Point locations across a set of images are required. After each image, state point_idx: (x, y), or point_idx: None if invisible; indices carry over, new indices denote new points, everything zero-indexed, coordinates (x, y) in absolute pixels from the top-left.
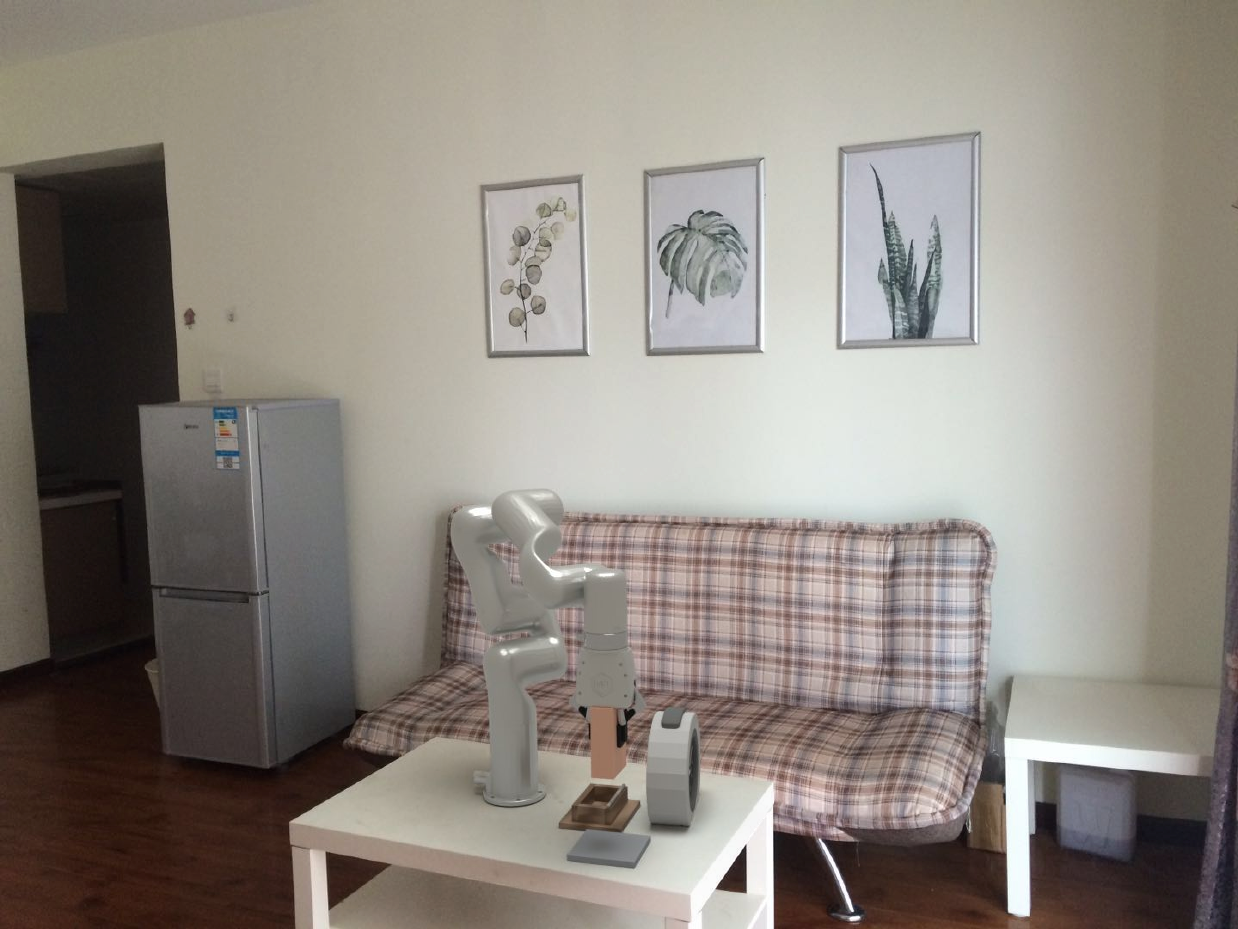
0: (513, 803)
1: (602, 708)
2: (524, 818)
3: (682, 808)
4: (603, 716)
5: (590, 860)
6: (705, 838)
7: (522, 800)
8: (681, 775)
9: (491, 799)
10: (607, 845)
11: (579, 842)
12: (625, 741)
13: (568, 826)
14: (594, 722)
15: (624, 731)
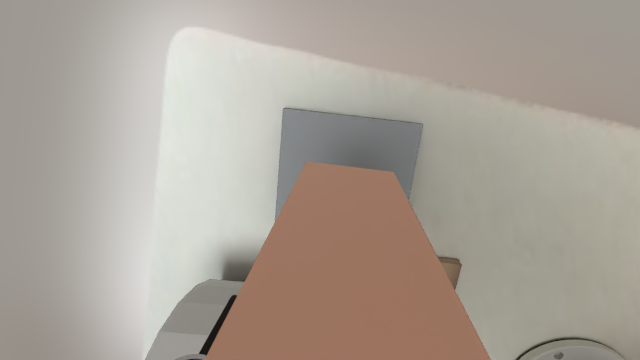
0: (566, 344)
1: None
2: (532, 295)
3: (209, 283)
4: None
5: (372, 118)
6: (187, 242)
7: (550, 352)
8: (171, 330)
9: (617, 355)
10: None
11: (405, 183)
12: (234, 295)
13: (439, 260)
14: (432, 328)
15: (214, 333)
